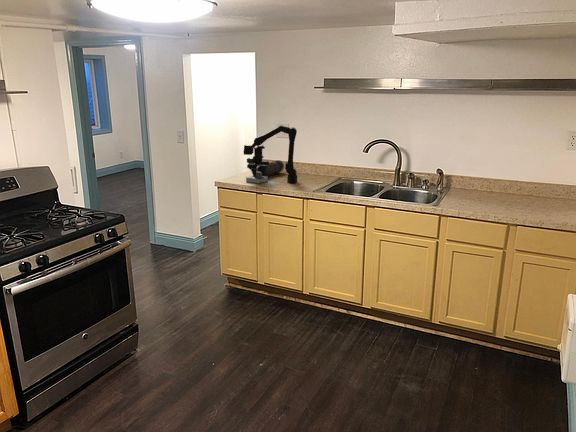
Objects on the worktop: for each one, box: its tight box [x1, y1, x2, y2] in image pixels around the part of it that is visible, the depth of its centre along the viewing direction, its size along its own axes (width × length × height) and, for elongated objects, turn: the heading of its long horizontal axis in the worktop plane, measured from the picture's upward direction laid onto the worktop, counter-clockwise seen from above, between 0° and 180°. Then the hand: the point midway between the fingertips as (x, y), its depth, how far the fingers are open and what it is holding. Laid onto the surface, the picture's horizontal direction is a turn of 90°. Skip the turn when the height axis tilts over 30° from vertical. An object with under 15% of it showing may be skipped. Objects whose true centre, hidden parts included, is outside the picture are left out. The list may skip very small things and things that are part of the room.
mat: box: [262, 181, 280, 186], centre depth 340 cm, size 9×9×1 cm
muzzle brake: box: [257, 159, 285, 177], centre depth 369 cm, size 10×28×10 cm, turn 152°
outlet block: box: [245, 175, 269, 185], centre depth 344 cm, size 12×10×4 cm
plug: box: [255, 171, 262, 178], centre depth 342 cm, size 4×3×7 cm, turn 54°
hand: (258, 176), depth 342 cm, fingers open, 9 cm apart
